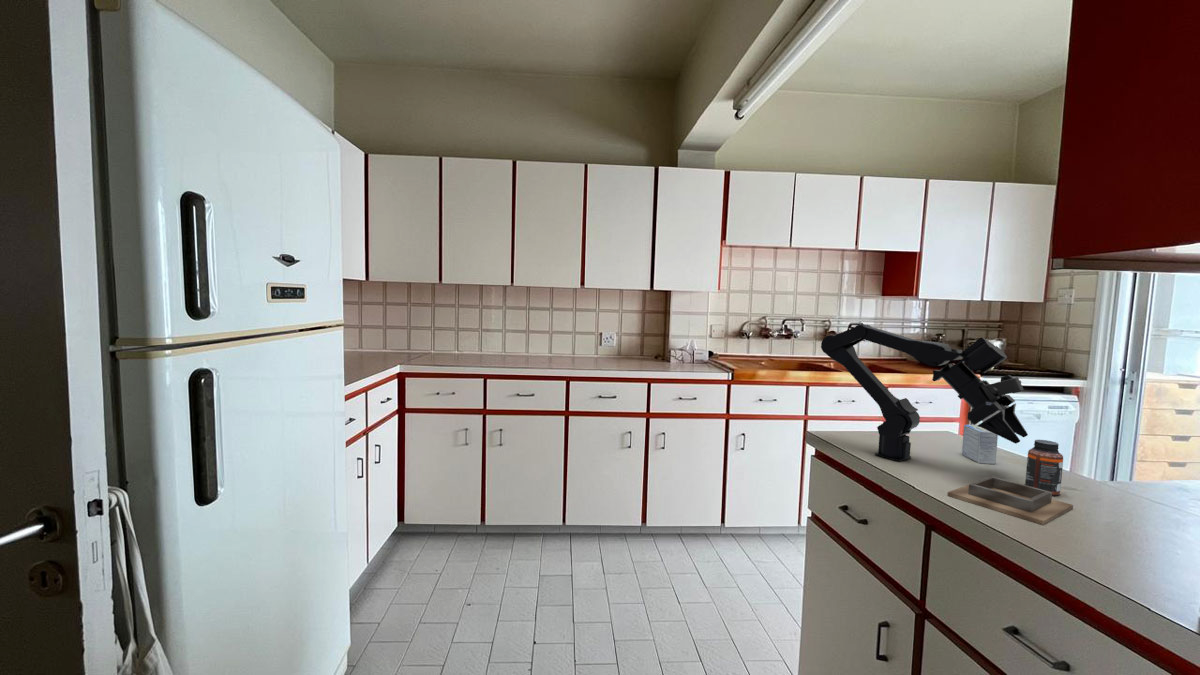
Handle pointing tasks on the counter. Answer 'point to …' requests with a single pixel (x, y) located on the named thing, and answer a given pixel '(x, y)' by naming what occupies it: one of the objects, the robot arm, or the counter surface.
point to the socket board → (1012, 499)
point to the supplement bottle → (1044, 467)
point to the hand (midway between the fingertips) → (1022, 439)
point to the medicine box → (979, 444)
